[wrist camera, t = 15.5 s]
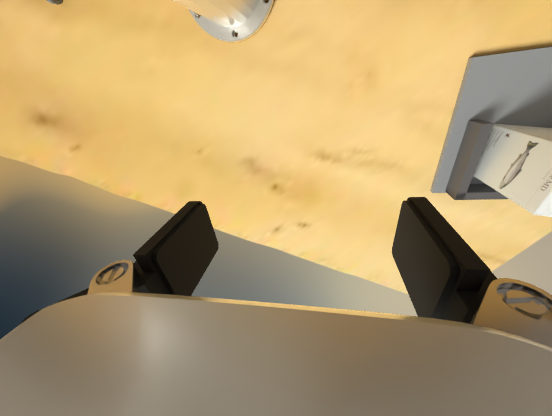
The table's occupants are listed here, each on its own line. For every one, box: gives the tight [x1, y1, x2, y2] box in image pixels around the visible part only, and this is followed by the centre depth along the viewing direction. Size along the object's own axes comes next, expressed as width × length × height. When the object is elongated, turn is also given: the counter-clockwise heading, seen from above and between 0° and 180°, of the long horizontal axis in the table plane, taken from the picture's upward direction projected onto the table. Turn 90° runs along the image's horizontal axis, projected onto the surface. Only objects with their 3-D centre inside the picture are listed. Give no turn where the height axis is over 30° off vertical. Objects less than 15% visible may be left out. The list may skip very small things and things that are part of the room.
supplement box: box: [473, 124, 552, 217], centre depth 25 cm, size 7×7×13 cm
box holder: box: [431, 47, 552, 200], centre depth 28 cm, size 19×16×4 cm
